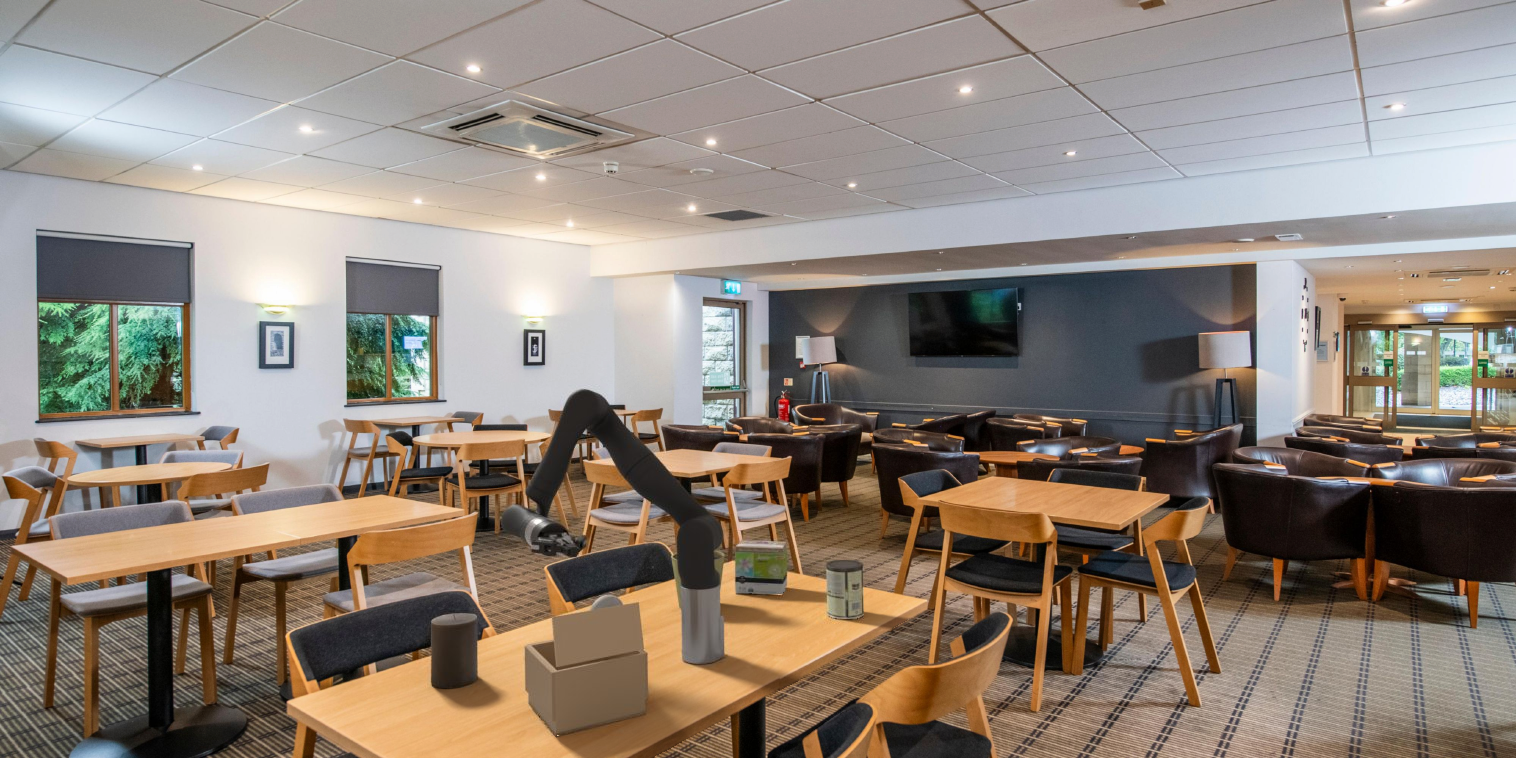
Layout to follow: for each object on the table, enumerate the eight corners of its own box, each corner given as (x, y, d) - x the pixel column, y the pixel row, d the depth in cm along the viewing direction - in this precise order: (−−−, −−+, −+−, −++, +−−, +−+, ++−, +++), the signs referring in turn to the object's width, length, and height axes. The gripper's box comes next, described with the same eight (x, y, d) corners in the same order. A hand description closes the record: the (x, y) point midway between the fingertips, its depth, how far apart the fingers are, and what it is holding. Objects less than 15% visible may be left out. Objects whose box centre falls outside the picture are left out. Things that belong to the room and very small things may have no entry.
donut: (592, 639, 204) (592, 599, 204) (586, 635, 207) (585, 597, 207) (627, 630, 211) (626, 592, 211) (620, 627, 213) (620, 590, 213)
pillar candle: (450, 692, 171) (450, 621, 171) (421, 683, 176) (421, 614, 176) (487, 677, 179) (487, 610, 179) (458, 669, 184) (458, 604, 184)
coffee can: (836, 607, 229) (836, 557, 229) (870, 612, 224) (869, 561, 224) (819, 616, 221) (819, 565, 221) (853, 622, 215) (853, 569, 215)
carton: (613, 683, 174) (612, 628, 174) (648, 713, 159) (647, 652, 159) (524, 703, 164) (523, 644, 164) (552, 737, 148) (551, 672, 148)
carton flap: (637, 602, 160) (638, 602, 160) (642, 648, 158) (644, 649, 158) (551, 617, 151) (552, 616, 150) (556, 666, 149) (557, 666, 148)
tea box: (734, 594, 244) (734, 546, 244) (740, 586, 254) (740, 539, 254) (783, 596, 242) (782, 547, 242) (787, 587, 252) (787, 540, 252)
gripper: (517, 521, 178) (543, 537, 164) (574, 517, 185) (604, 531, 171) (516, 555, 178) (542, 574, 164) (573, 549, 186) (603, 566, 171)
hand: (574, 552), depth 167 cm, fingers closed
